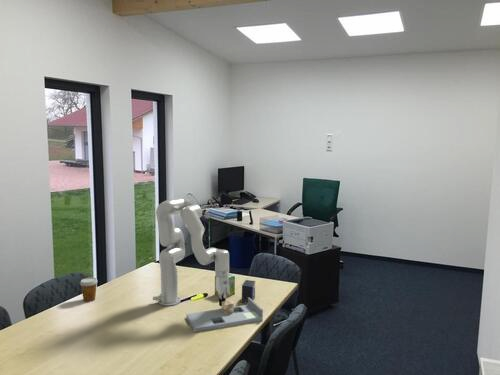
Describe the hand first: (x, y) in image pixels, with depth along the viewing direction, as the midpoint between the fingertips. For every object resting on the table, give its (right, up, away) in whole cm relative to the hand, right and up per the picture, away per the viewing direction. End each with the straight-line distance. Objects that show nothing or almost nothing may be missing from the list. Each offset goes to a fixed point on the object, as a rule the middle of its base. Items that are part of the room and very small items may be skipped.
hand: (222, 305), depth 218 cm
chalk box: (0, -1, +27) cm, 26 cm away
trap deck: (+2, -5, -9) cm, 10 cm away
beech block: (+3, -2, -4) cm, 6 cm away
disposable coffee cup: (-79, -2, +15) cm, 80 cm away
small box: (+14, -2, +17) cm, 23 cm away
